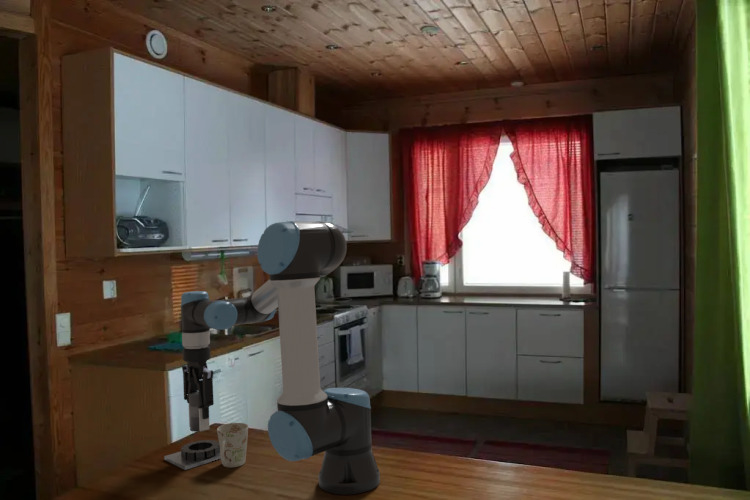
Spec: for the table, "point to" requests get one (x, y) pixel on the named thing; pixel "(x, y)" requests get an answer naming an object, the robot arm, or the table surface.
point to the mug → (233, 443)
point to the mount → (195, 454)
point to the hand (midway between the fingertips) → (199, 427)
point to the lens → (194, 411)
